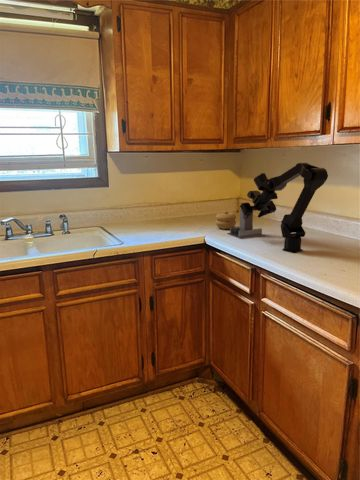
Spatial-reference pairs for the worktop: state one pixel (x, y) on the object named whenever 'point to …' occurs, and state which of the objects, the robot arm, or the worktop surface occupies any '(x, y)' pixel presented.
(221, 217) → the pot
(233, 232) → the bracket
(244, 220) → the gray rectangular block
